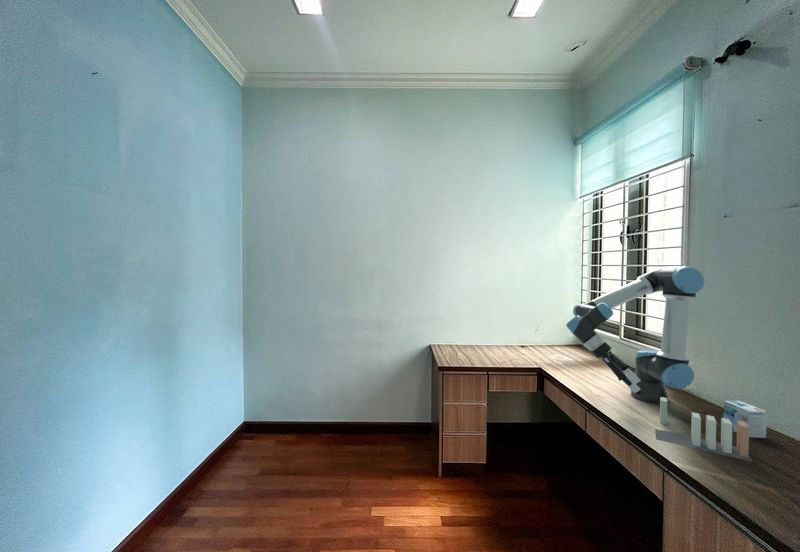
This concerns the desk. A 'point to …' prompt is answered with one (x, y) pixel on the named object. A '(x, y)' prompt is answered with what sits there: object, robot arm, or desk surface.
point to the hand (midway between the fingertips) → (637, 386)
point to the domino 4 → (726, 435)
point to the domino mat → (687, 442)
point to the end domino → (742, 438)
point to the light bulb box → (746, 417)
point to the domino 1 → (663, 410)
